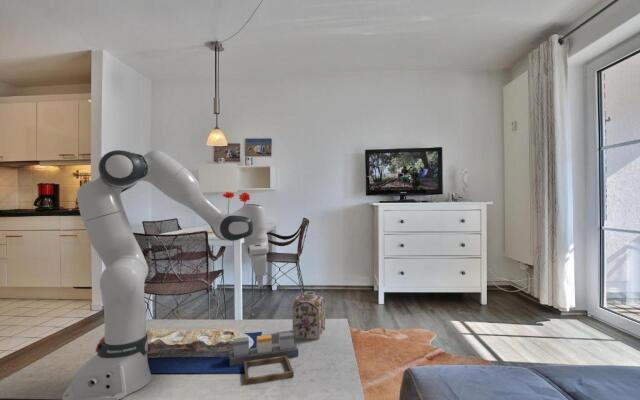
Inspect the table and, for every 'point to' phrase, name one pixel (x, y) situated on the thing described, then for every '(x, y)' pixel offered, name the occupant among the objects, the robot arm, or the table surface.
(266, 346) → the block
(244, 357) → the fuse holder
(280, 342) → the right fuse
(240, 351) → the block
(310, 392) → the table surface
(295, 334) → the decorative jar
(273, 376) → the brown wooden frame
